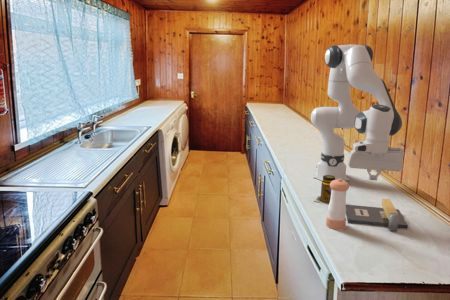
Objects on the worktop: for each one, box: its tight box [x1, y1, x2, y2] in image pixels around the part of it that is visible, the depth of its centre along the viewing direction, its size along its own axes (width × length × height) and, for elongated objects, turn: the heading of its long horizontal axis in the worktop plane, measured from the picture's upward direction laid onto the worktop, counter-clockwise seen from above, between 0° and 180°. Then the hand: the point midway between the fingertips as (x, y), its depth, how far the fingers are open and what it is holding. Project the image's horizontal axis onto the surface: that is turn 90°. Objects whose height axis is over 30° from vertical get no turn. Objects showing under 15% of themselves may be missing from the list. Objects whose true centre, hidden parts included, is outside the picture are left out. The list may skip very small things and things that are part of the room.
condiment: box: [314, 175, 335, 206], centre depth 170 cm, size 7×8×12 cm
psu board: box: [345, 204, 409, 230], centre depth 154 cm, size 16×22×2 cm
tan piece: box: [381, 198, 399, 232], centre depth 149 cm, size 18×3×6 cm, turn 167°
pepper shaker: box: [325, 179, 350, 231], centre depth 144 cm, size 7×7×19 cm
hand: (372, 179), depth 151 cm, fingers closed
